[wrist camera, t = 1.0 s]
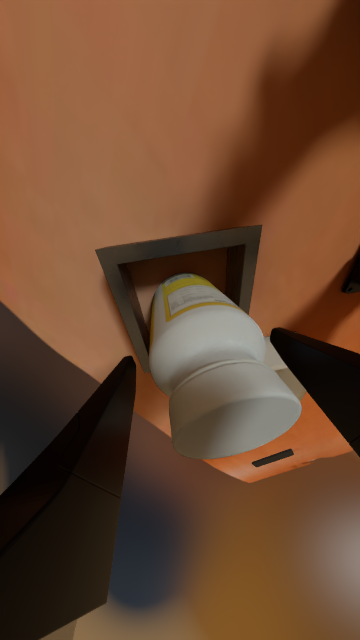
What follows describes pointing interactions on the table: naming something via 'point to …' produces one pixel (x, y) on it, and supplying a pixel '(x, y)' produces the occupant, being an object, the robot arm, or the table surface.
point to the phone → (273, 458)
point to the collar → (236, 239)
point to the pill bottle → (214, 372)
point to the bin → (282, 370)
